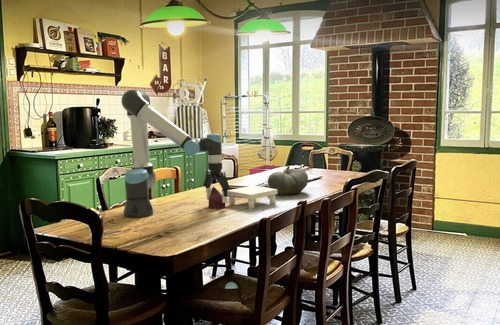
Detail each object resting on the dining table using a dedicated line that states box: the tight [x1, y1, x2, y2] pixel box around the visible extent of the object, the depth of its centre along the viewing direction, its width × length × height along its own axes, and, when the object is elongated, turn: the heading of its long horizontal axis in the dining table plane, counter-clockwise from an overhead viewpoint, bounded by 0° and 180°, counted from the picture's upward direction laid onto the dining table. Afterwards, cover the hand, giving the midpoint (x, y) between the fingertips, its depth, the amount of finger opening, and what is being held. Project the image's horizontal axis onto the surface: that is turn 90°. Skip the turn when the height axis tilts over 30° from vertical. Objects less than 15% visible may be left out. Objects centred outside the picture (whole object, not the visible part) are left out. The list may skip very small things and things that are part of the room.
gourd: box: [267, 165, 309, 196], centre depth 300 cm, size 25×25×17 cm
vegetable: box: [208, 186, 226, 210], centre depth 265 cm, size 10×9×14 cm
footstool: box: [227, 185, 278, 210], centre depth 272 cm, size 20×20×8 cm
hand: (216, 201), depth 266 cm, fingers open, 13 cm apart
